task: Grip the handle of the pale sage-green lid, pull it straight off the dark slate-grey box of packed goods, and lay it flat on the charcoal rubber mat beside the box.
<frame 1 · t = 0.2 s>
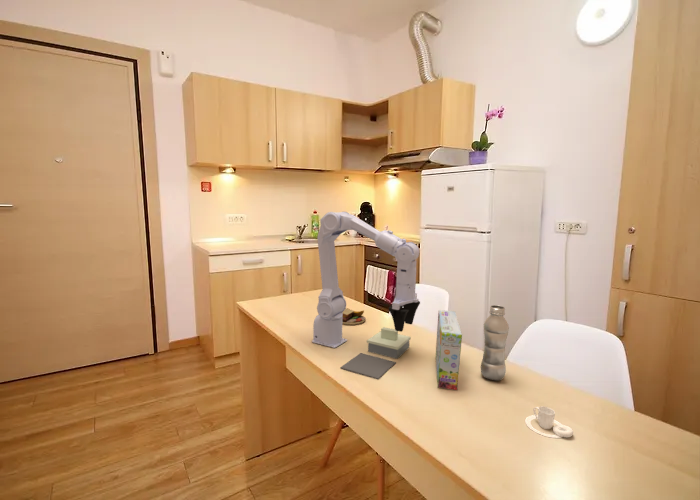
hand: (403, 327, 109), 10 cm above the table, tool pointing down, fingers open, 7 cm apart
lid: (389, 340, 116), point 3 cm above the table, touching box
mat: (368, 365, 104), on the table
snack box: (445, 372, 102), on the table
toy sandwich meal: (348, 321, 145), on the table
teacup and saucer: (547, 437, 74), on the table
box: (388, 349, 116), on the table
plastic bottle: (492, 378, 98), on the table
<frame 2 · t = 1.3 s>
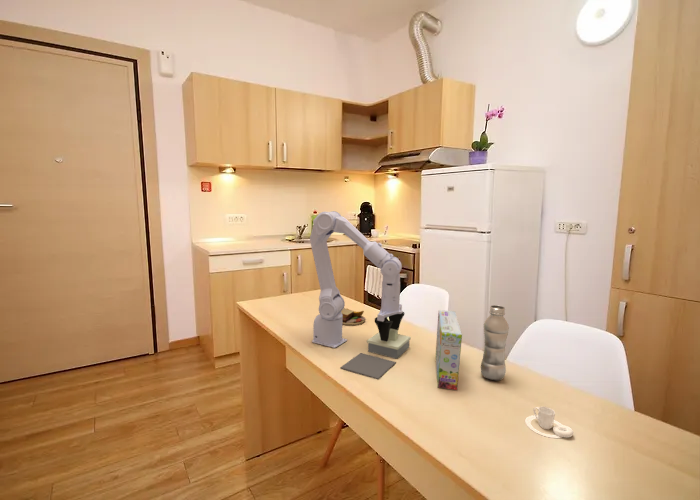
hand: (389, 336, 116), 4 cm above the table, tool pointing down, fingers open, 7 cm apart
nothing on the table moved.
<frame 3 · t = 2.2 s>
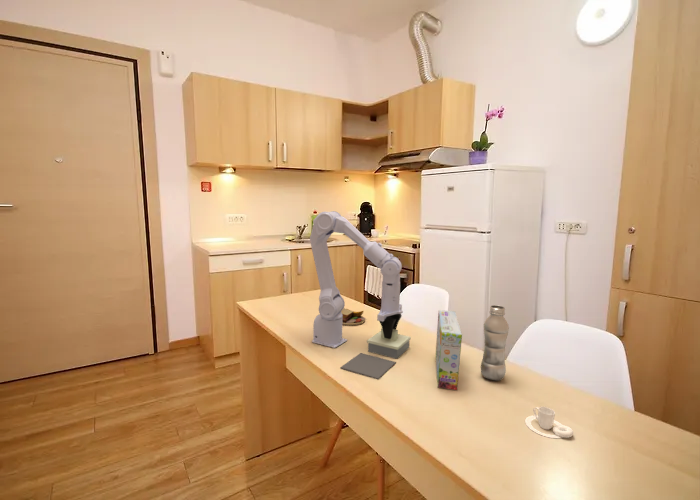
hand: (389, 336, 116), 4 cm above the table, tool pointing down, fingers closed on lid, 2 cm apart
lid: (389, 340, 116), point 3 cm above the table, touching box, gripper
everything else where it was.
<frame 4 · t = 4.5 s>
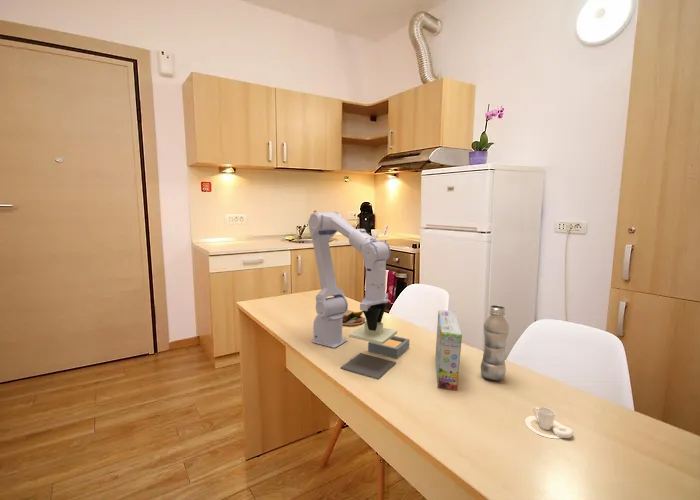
hand: (374, 328, 105), 10 cm above the table, tool pointing down, fingers closed on lid
lid: (373, 335, 105), point 8 cm above the table, touching gripper
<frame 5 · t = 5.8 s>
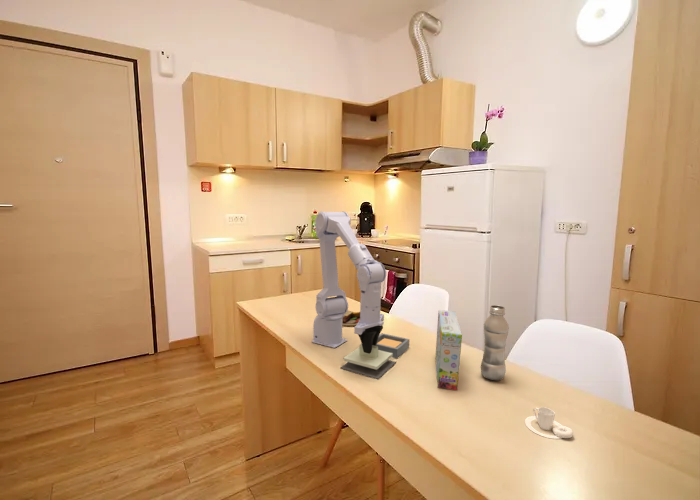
hand: (369, 350, 104), 5 cm above the table, tool pointing down, fingers closed on lid, 2 cm apart
lid: (368, 358, 104), point 2 cm above the table, touching gripper
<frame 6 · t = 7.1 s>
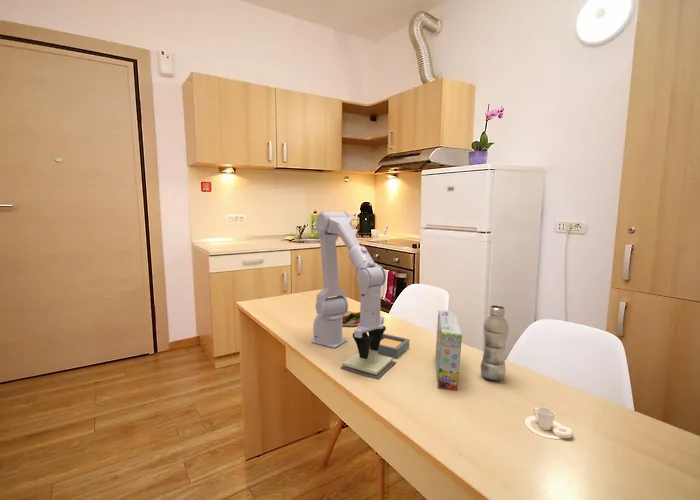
hand: (369, 354, 104), 4 cm above the table, tool pointing down, fingers open, 6 cm apart
lid: (368, 363, 104), point 1 cm above the table, touching mat
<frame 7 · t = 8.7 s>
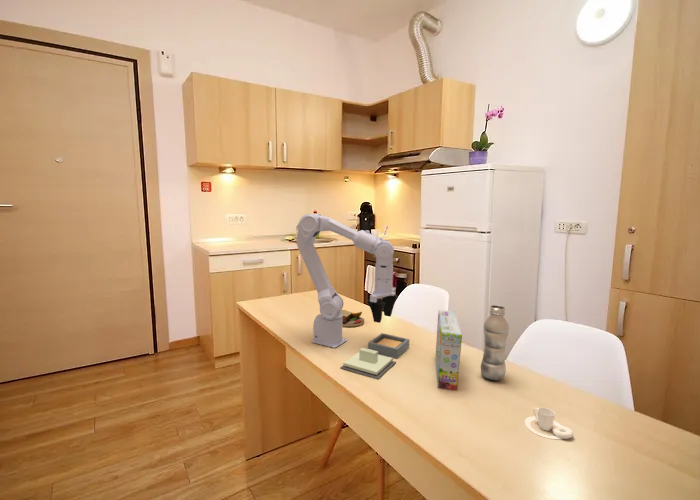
hand: (382, 318, 118), 9 cm above the table, tool pointing down, fingers open, 7 cm apart
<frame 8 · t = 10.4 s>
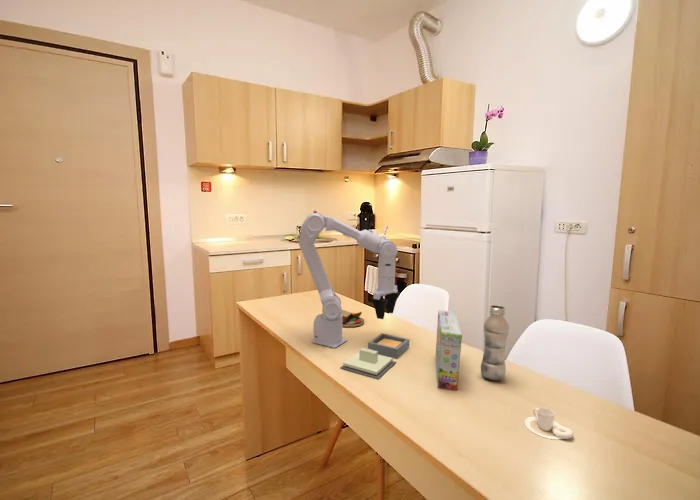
hand: (385, 315, 121), 9 cm above the table, tool pointing down, fingers open, 7 cm apart
at the end: lid 0.2 cm off-centre on the mat, point 0.8 cm above the mat's base; lid tilted 0°; lid touching mat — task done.
